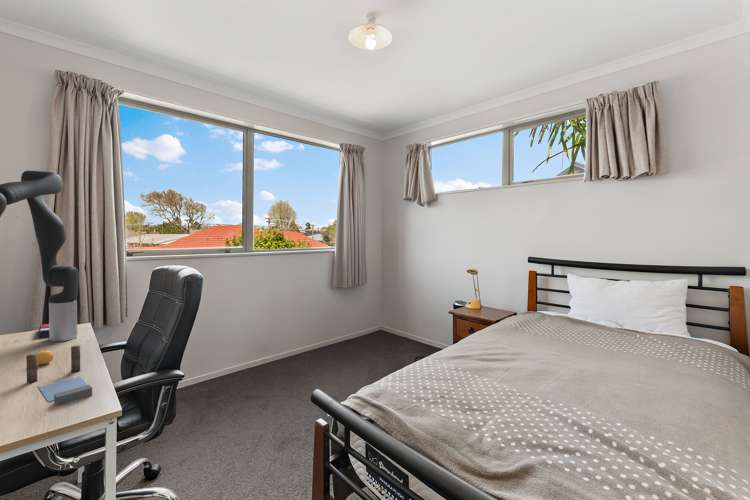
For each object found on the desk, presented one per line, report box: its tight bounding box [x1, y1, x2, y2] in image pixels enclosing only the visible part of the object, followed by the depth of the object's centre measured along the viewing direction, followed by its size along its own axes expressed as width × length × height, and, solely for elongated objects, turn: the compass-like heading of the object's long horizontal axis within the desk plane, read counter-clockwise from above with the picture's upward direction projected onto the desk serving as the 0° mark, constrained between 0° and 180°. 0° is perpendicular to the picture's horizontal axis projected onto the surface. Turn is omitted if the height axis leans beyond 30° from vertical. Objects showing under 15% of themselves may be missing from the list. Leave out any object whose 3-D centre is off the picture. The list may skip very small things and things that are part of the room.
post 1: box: [25, 353, 38, 384], centre depth 107 cm, size 2×2×9 cm
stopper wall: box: [53, 384, 93, 407], centre depth 98 cm, size 3×8×2 cm, turn 145°
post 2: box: [70, 344, 81, 373], centre depth 116 cm, size 2×2×9 cm
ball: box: [36, 349, 55, 365], centre depth 121 cm, size 5×5×5 cm
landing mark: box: [38, 376, 88, 403], centre depth 104 cm, size 14×10×1 cm
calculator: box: [38, 323, 49, 340], centre depth 156 cm, size 11×4×15 cm
